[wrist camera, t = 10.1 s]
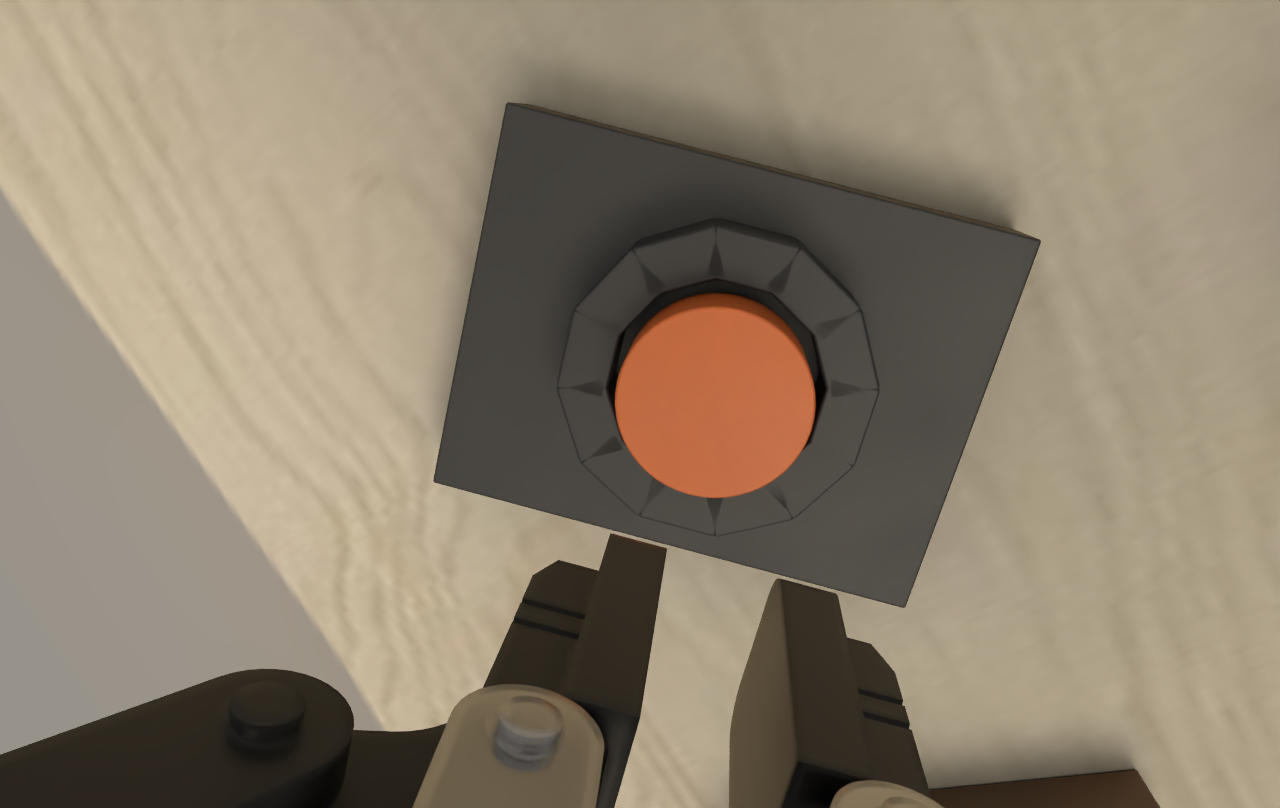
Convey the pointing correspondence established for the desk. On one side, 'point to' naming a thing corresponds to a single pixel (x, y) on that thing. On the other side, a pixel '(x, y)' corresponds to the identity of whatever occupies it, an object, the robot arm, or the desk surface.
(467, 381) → the button housing
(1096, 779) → the dial panel
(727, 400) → the button
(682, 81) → the desk surface
